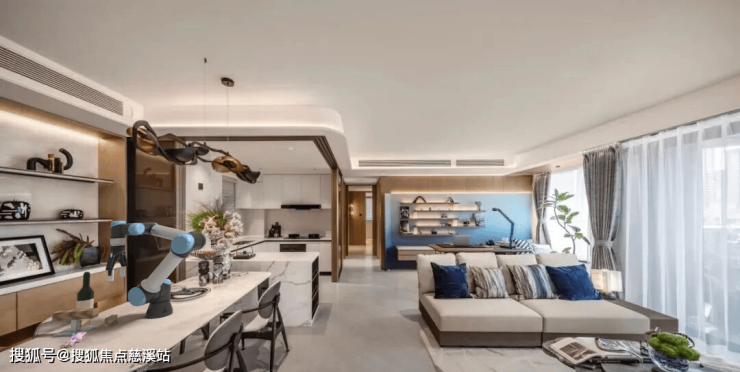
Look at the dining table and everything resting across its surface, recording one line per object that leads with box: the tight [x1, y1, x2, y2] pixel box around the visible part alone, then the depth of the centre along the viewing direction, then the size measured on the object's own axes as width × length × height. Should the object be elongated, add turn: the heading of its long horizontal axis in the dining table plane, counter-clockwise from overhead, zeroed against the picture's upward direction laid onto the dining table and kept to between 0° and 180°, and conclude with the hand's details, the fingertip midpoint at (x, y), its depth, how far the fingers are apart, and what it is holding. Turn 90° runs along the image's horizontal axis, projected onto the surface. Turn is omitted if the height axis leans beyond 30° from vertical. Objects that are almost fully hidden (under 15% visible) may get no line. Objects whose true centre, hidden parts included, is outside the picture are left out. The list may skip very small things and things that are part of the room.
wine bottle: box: [75, 271, 95, 309], centre depth 202 cm, size 8×8×30 cm
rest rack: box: [80, 313, 119, 328], centre depth 188 cm, size 18×7×5 cm, turn 100°
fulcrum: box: [52, 319, 97, 338], centre depth 177 cm, size 14×11×8 cm
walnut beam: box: [51, 307, 100, 322], centre depth 178 cm, size 20×5×4 cm, turn 100°
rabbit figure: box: [61, 332, 87, 349], centre depth 162 cm, size 6×6×15 cm
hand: (116, 278), depth 197 cm, fingers open, 13 cm apart
